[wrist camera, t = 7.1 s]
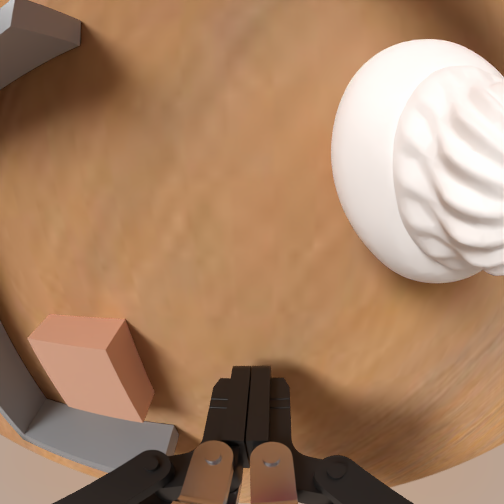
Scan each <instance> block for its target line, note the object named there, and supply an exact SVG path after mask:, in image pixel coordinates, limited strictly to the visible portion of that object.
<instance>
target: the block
mask: <svg viewBox="0 0 504 504" xmlns="http://www.w3.org/2000/svg"><path fill="white" fill-rule="evenodd" d="M27 339H28V341H29V343H30V344H31V346H32V348H33V350H34V352H35V354H36V356H37V357H38V359H39V361H40V363H41V364H42V366H43V368H44V370H45V371H46V373H47V375H48V376H49V378H50V379H51V381H52V383H53V384H54V386H55V387H56V389H57V390H58V392H59V393H60V395H61V396H62V398H63V399H64V401H65V402H66V404H67V405H68V407H72V408H75V409H79V410H83V411H87V412H91V413H95V414H99V415H104V416H109V417H113V418H118V419H123V420H129V421H134V422H140V423H143V422H144V420H145V417H146V414H147V412H148V409H149V406H150V403H151V401H152V398H153V396H154V393H155V392H154V390H153V387H152V385H151V383H150V381H149V378H148V376H147V374H146V371H145V369H144V366H143V364H142V362H141V359H140V357H139V354H138V352H137V349H136V346H135V344H134V341H133V339H132V336H131V333H130V330H129V328H128V325H127V322H126V319H114V318H96V317H80V316H67V315H55V314H49V315H48V316H47V317H46V318H45V319H44V320H43V321H42V323H41V324H40V325H39V326H38V327H37V328H36V329H35V330H34V331H33V332H32V333H31V335H30V336H29V337H28V338H27Z"/></svg>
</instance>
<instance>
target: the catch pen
mask: <svg viewBox="0 0 504 504" xmlns="http://www.w3.org/2000/svg"><path fill="white" fill-rule="evenodd" d="M80 32H81V21H80V20H78V19H76V18H73V17H71V16H68V15H66V14H63V13H61V12H58V11H56V10H53V9H51V8H48V7H45V6H43V5H40V4H37V3H34V2H31V1H28V0H10V1H9V2H8V3H6V4H5V5H4V6H3V7H1V8H0V90H1V89H2V88H4V87H5V86H7V85H8V84H10V83H11V82H13V81H14V80H16V79H17V78H19V77H21V76H22V75H24V74H26V73H27V72H29V71H31V70H32V69H34V68H36V67H38V66H39V65H41V64H43V63H45V62H47V61H49V60H50V59H52V58H54V57H56V56H58V55H60V54H62V53H64V52H66V51H68V50H71V49H73V48H75V47H77V46H79V45H80ZM0 413H1V414H2V415H3V417H4V418H5V419H6V420H7V421H8V423H9V424H10V425H11V426H12V427H13V428H14V429H15V431H16V432H17V433H18V434H19V435H20V436H21V437H22V438H23V439H24V440H26V441H28V442H30V443H32V444H34V445H36V446H38V447H41V448H43V449H45V450H47V451H50V452H52V453H54V454H57V455H59V456H62V457H64V458H67V459H69V460H72V461H75V462H77V463H80V464H83V465H86V466H89V467H92V468H95V469H98V470H101V471H104V472H108V473H109V472H111V471H113V470H114V469H116V468H118V467H119V466H121V465H123V464H124V463H126V462H127V461H129V460H131V459H132V458H134V457H135V456H137V455H138V454H140V453H142V452H143V451H146V450H159V451H161V452H163V453H165V454H166V455H167V456H173V455H174V452H175V448H176V444H177V441H178V437H179V434H178V432H177V430H176V428H175V426H174V425H168V424H160V423H153V422H146V421H144V422H143V423H140V422H134V421H129V420H123V419H118V418H113V417H109V416H104V415H99V414H95V413H91V412H87V411H83V410H79V409H75V408H72V407H68V405H66V404H63V403H59V402H56V401H53V400H49V399H46V397H45V396H44V394H43V393H42V392H41V390H40V389H39V387H38V386H37V384H36V383H35V381H34V380H33V378H32V376H31V375H30V373H29V372H28V370H27V368H26V367H25V365H24V364H23V362H22V360H21V358H20V357H19V355H18V353H17V351H16V350H15V348H14V346H13V344H12V342H11V341H10V339H9V337H8V335H7V333H6V331H5V329H4V327H3V325H2V323H1V321H0Z"/></svg>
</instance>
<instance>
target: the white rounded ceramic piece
mask: <svg viewBox="0 0 504 504" xmlns="http://www.w3.org/2000/svg"><path fill="white" fill-rule="evenodd" d="M331 162H332V172H333V178H334V182H335V186H336V190H337V194H338V197H339V200H340V203H341V205H342V208H343V210H344V212H345V214H346V216H347V218H348V220H349V222H350V224H351V226H352V227H353V229H354V230H355V232H356V233H357V235H358V236H359V238H360V239H361V240H362V242H363V243H364V244H365V246H366V247H367V248H368V249H369V250H370V251H371V252H372V253H373V254H374V256H375V257H376V258H377V259H378V260H380V261H381V262H382V263H383V264H384V265H385V266H387V267H388V268H389V269H391V270H392V271H394V272H396V273H397V274H399V275H401V276H403V277H406V278H408V279H411V280H415V281H419V282H425V283H449V282H455V281H459V280H463V279H466V278H468V277H470V276H473V275H475V274H477V273H478V272H480V271H482V270H484V271H485V272H487V273H488V274H491V275H494V276H501V275H504V77H503V76H502V75H501V73H500V72H499V71H498V70H497V69H496V68H494V67H493V66H492V65H491V64H490V63H489V62H487V61H486V60H485V59H484V58H482V57H481V56H479V55H478V54H476V53H475V52H473V51H471V50H469V49H468V48H466V47H463V46H461V45H459V44H456V43H453V42H449V41H444V40H436V39H420V40H412V41H407V42H402V43H399V44H396V45H393V46H391V47H389V48H386V49H384V50H383V51H381V52H379V53H378V54H376V55H375V56H373V57H372V58H371V59H369V60H368V61H367V62H366V63H365V64H364V65H363V66H362V67H361V68H360V69H359V70H358V71H357V73H356V74H355V75H354V76H353V78H352V79H351V81H350V83H349V84H348V86H347V88H346V90H345V92H344V94H343V96H342V99H341V101H340V104H339V107H338V110H337V113H336V117H335V122H334V127H333V133H332V142H331Z"/></svg>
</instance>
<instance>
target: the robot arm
mask: <svg viewBox="0 0 504 504" xmlns="http://www.w3.org/2000/svg"><path fill="white" fill-rule="evenodd" d="M243 468H250V488H251V504H298V502H300V503H304V504H413V503H412V502H410V501H409V500H407V499H406V498H404V497H403V496H401V495H399V494H398V493H397V492H395V491H393V490H392V489H391V488H389V487H388V486H386V485H385V484H384V483H382V482H381V481H379V480H378V479H376V478H375V477H374V476H372V475H371V474H370V473H368V472H367V471H365V470H364V469H363V468H361V467H360V466H359V465H357V464H356V463H355V462H353V461H352V460H351V459H349V458H347V457H345V456H340V455H334V456H330V457H327V458H325V459H323V460H322V459H317V458H312V457H308V456H305V455H302V454H301V453H299V452H298V451H297V450H296V449H295V448H294V446H293V444H292V440H291V414H290V390H289V386H288V384H287V382H286V381H285V379H284V378H271V366H252V367H251V366H233V368H232V374H231V379H229V378H220V379H219V381H218V382H217V383H216V385H215V386H214V387H213V392H212V397H211V401H210V408H209V411H208V416H207V421H206V426H205V431H204V436H203V440H202V442H201V444H200V445H199V446H197V448H196V449H194V450H193V451H191V452H189V453H185V454H180V455H173V456H167V455H166V454H165V453H163V452H161V451H159V450H146V451H143V452H142V453H140V454H138V455H137V456H135V457H134V458H132V459H131V460H129V461H127V462H126V463H124V464H123V465H121V466H119V467H118V468H116V469H114V470H113V471H111V472H109V473H108V474H106V475H104V476H103V477H101V478H99V479H98V480H96V481H94V482H92V483H91V484H89V485H87V486H85V487H83V488H81V489H80V490H78V491H76V492H74V493H72V494H70V495H68V496H67V497H65V498H63V499H61V500H59V501H57V502H55V503H53V504H238V502H239V496H240V491H241V486H242V474H243Z"/></svg>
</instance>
